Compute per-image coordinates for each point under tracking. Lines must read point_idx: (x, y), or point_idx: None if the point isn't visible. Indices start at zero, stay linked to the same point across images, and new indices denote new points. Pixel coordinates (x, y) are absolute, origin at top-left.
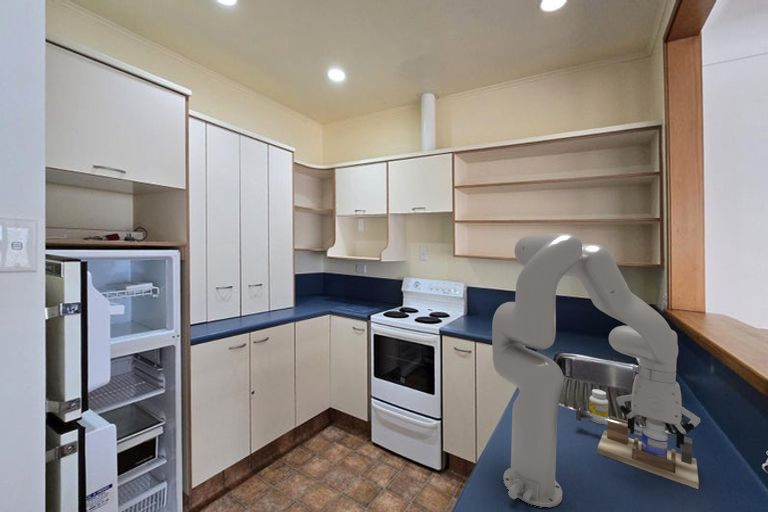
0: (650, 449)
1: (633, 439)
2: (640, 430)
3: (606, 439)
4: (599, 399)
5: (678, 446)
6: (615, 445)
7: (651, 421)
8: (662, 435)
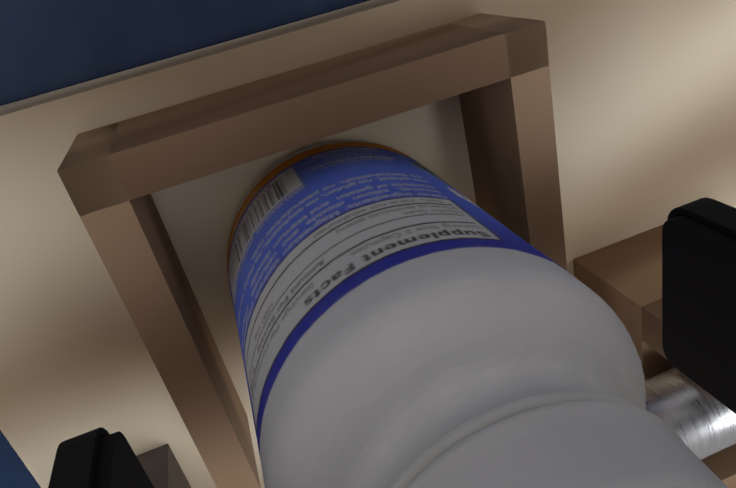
0: (388, 177)
1: None
2: None
3: (719, 177)
4: None
5: (80, 451)
6: (645, 143)
7: None
8: (338, 427)
